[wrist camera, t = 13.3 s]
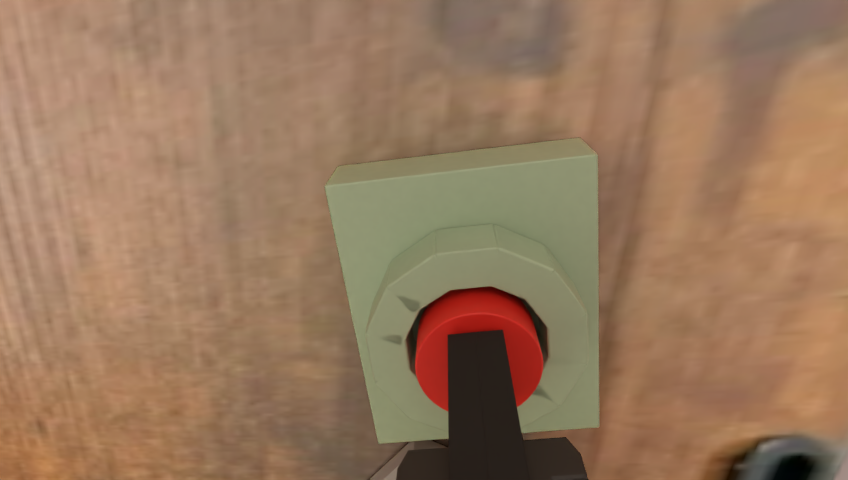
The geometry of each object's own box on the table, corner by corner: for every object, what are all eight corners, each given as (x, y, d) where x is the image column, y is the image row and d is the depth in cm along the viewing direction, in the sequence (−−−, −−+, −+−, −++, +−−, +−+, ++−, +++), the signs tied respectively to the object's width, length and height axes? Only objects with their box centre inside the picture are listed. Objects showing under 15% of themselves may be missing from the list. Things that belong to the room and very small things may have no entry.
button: (409, 288, 16) (406, 319, 15) (531, 276, 16) (541, 306, 14) (425, 385, 18) (424, 423, 16) (537, 376, 17) (546, 414, 16)
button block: (336, 165, 18) (310, 206, 15) (580, 136, 18) (616, 171, 14) (384, 404, 22) (372, 484, 18) (585, 388, 21) (614, 467, 18)
